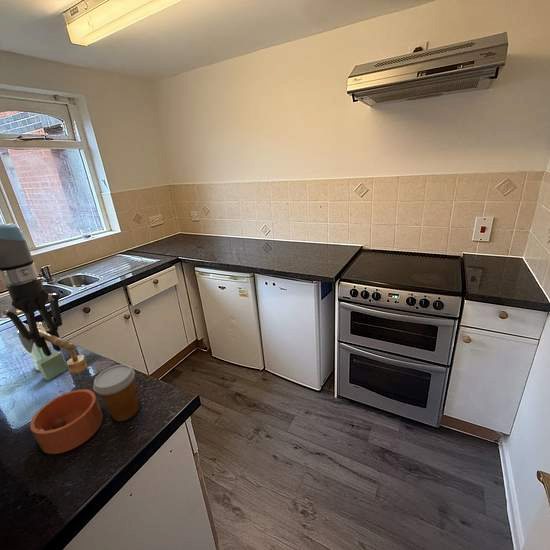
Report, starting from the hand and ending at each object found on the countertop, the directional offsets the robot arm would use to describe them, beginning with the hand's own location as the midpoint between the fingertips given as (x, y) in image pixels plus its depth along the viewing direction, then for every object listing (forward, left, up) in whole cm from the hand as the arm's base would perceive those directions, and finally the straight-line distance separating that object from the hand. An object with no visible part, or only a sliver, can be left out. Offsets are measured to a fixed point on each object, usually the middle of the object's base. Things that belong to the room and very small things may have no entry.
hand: (52, 351), depth 91 cm
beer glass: (-11, +10, -11) cm, 18 cm away
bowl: (+13, -22, -10) cm, 28 cm away
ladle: (+3, -2, -2) cm, 4 cm away
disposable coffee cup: (+25, -19, -11) cm, 33 cm away
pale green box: (-5, +4, -10) cm, 12 cm away
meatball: (+10, -22, -8) cm, 26 cm away
